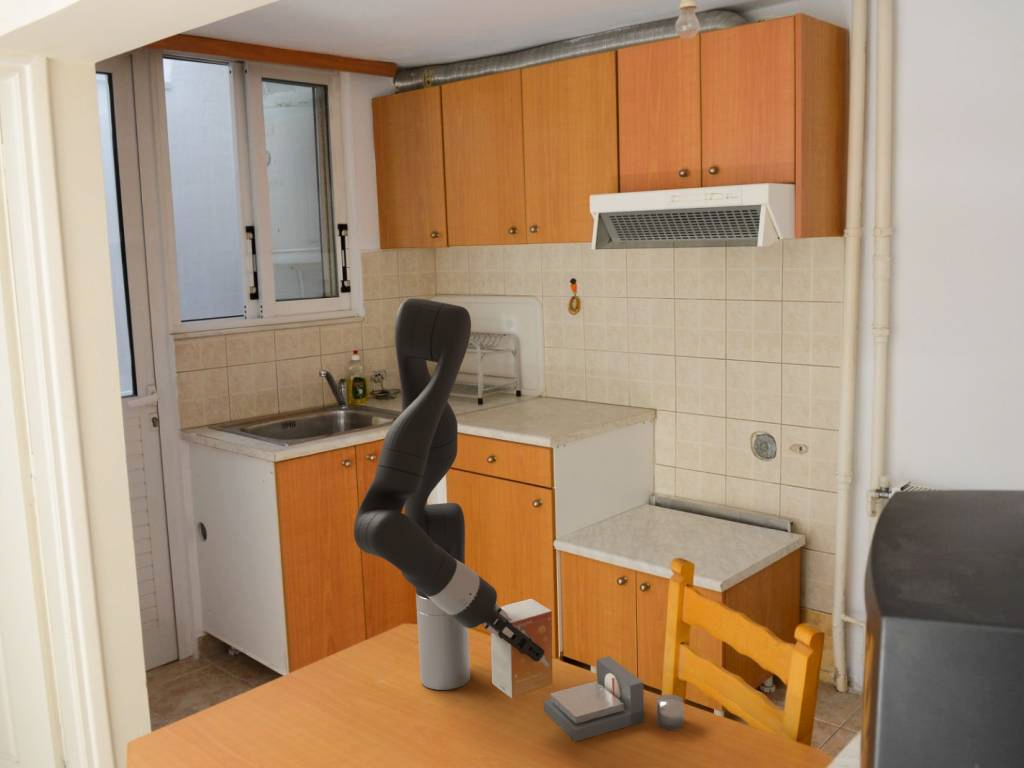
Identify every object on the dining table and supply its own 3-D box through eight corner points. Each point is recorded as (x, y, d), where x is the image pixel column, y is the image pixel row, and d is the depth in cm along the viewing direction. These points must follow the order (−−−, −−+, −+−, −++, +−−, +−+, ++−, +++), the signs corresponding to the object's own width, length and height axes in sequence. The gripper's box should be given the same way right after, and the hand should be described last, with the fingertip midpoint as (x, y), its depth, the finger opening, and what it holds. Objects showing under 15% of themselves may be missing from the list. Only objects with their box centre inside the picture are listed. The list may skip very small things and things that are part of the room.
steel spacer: (651, 720, 156) (651, 698, 156) (673, 714, 158) (673, 692, 157) (666, 733, 152) (666, 710, 152) (689, 726, 154) (689, 703, 154)
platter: (550, 699, 160) (550, 693, 159) (596, 687, 163) (596, 681, 163) (575, 723, 152) (575, 717, 151) (623, 710, 155) (623, 703, 155)
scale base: (544, 711, 161) (542, 673, 159) (609, 693, 166) (608, 656, 165) (575, 741, 151) (573, 701, 150) (643, 721, 156) (643, 682, 155)
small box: (512, 700, 148) (510, 622, 146) (491, 684, 154) (488, 609, 151) (554, 685, 153) (552, 610, 150) (532, 670, 158) (530, 597, 156)
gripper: (493, 589, 140) (565, 645, 147) (458, 558, 153) (525, 611, 160) (462, 629, 139) (535, 685, 146) (429, 595, 152) (498, 647, 159)
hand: (530, 646), depth 153 cm, fingers closed on small box, 7 cm apart
